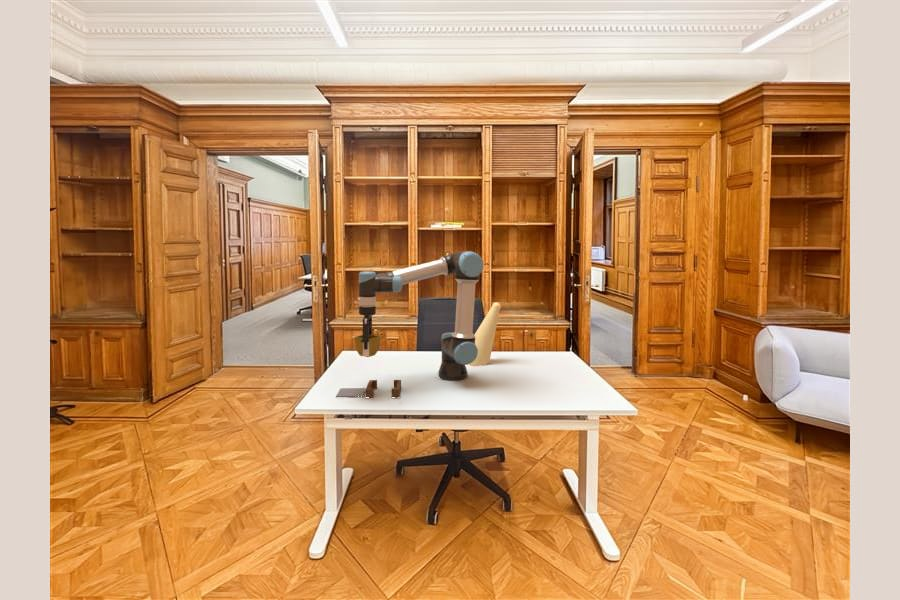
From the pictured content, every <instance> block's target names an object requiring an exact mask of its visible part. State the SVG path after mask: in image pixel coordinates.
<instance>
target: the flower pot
mask: <svg viewBox="0 0 900 600" xmlns="http://www.w3.org/2000/svg"><path fill="white" fill-rule="evenodd" d="M362 336H363V334H359V335H357V336H354V346H355V350H356V352H357V353H358V355H359V356H360V357H366V358H370V357H373V356H374V357H375V355H377V353H378V351H379V348H380V344H381V337H382V336H381V335H376V334H374V335H369V356H363V342H361V340H362Z"/></svg>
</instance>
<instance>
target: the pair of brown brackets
mask: <svg viewBox="0 0 900 600" xmlns="http://www.w3.org/2000/svg"><path fill="white" fill-rule="evenodd" d="M365 388H366V391H365V398H366V397H369V398H368V399H374V398H375V390H378V379H369V381H368V383H367V386H366V387H365ZM401 391H402V379H393V387H392V388H391V398H392V397H401V393H400V392H401Z"/></svg>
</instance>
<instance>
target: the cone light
mask: <svg viewBox="0 0 900 600" xmlns="http://www.w3.org/2000/svg"><path fill="white" fill-rule="evenodd" d="M501 308H502V304H501V303H500V302H493V304H492V305H491V307H490V309H489V310H488V312H487V313H486V315H485V317H484V318H483V320H482V322H481V323H480V325H479V326H478V328H477V330H476V332H475V333H474V335H475V345H476V347H477V349H478V354H477V357H476V359H475V360H474V361H473V362H472V363H470V364H467V365H470V366H469V367H480V366H479V365H483V366H486V365H485V364H487V365H489V364H490V360H491V355H492V350H493V346H494V340H495V337H496V336H495V335H496V330H497V326H498V321H499V316H500V310H501ZM488 363H489V364H488Z"/></svg>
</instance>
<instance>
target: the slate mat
mask: <svg viewBox="0 0 900 600" xmlns="http://www.w3.org/2000/svg"><path fill="white" fill-rule="evenodd" d="M366 388H367V387H347V388H346V387H345V388H344V387H343V388H339V390H338V392H337V393H336V395H335V398H336V397H349V398H362V397H361V396H363V395H364V396H365V394H366V391H365V390H366ZM358 396H359V397H358ZM364 396H363V397H364Z"/></svg>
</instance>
